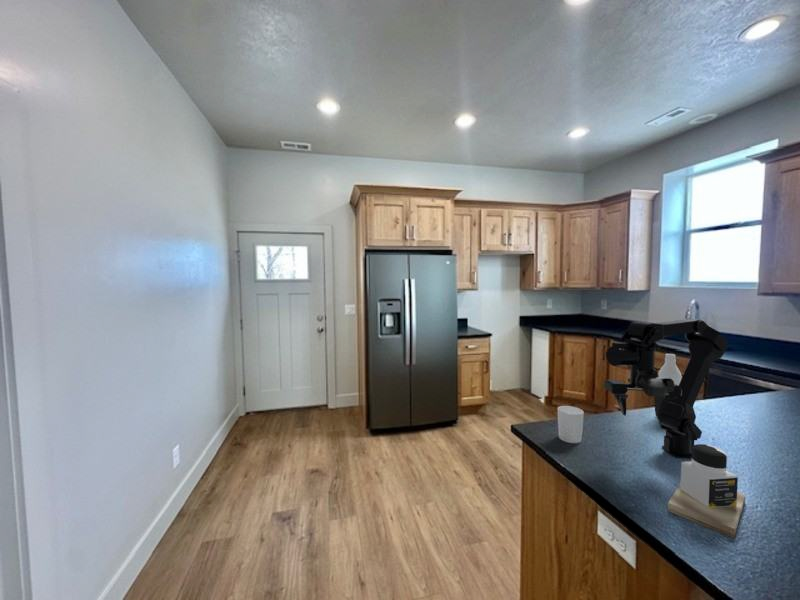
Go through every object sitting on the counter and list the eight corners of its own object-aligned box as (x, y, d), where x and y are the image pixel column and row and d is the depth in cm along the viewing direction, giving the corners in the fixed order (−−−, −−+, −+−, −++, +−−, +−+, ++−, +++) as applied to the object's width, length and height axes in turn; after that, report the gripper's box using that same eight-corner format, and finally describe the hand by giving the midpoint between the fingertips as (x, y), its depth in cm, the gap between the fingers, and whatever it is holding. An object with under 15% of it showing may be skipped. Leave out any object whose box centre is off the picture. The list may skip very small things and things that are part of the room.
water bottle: (652, 414, 136) (654, 352, 135) (669, 413, 136) (670, 352, 135) (667, 421, 129) (670, 356, 128) (685, 420, 129) (687, 356, 128)
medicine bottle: (709, 509, 76) (711, 456, 75) (679, 489, 83) (681, 441, 82) (737, 506, 76) (739, 454, 76) (706, 487, 84) (707, 440, 83)
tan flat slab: (685, 481, 90) (686, 474, 89) (745, 502, 81) (745, 494, 81) (667, 511, 78) (668, 502, 78) (734, 538, 70) (734, 528, 70)
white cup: (586, 445, 110) (587, 415, 110) (560, 443, 112) (560, 413, 111) (578, 434, 118) (579, 406, 117) (554, 433, 119) (555, 405, 119)
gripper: (622, 370, 94) (621, 425, 94) (697, 372, 91) (695, 428, 92) (603, 361, 105) (602, 410, 105) (669, 362, 102) (668, 413, 103)
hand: (640, 415), depth 101 cm, fingers open, 9 cm apart
